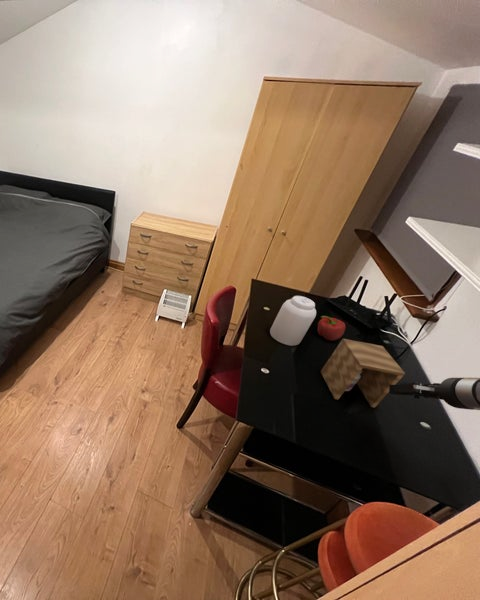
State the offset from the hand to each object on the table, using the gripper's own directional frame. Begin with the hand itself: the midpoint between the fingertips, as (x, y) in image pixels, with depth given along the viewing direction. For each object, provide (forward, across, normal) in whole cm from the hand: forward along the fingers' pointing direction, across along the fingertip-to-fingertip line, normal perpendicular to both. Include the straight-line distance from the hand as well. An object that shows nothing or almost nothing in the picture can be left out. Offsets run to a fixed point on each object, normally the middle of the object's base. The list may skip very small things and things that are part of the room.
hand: (392, 389), depth 100 cm
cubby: (+21, 0, -1) cm, 21 cm away
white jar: (+40, -15, +18) cm, 46 cm away
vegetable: (+45, +4, +23) cm, 51 cm away
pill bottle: (+22, -1, 0) cm, 22 cm away
